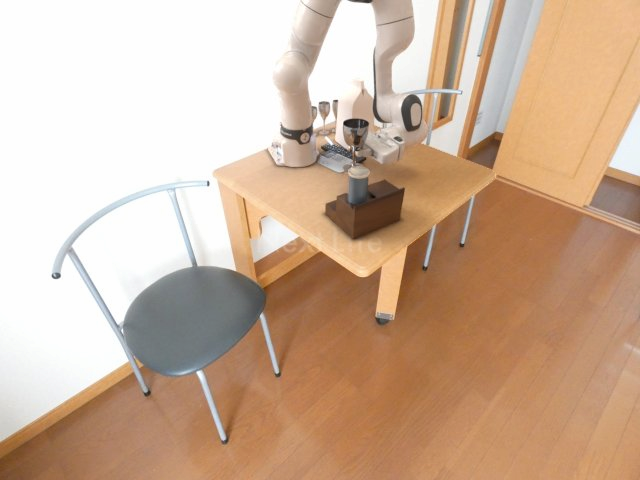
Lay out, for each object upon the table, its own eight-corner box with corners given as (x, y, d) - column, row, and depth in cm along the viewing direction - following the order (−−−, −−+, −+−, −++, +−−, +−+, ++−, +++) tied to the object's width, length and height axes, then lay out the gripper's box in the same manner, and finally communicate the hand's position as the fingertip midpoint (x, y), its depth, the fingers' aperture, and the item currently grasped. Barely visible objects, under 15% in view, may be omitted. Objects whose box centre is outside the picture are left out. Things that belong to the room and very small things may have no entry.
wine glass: (364, 174, 118) (367, 129, 109) (339, 172, 119) (341, 127, 110) (366, 163, 124) (370, 119, 115) (343, 161, 125) (345, 117, 116)
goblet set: (309, 138, 161) (308, 107, 153) (305, 133, 165) (304, 103, 157) (366, 128, 169) (369, 98, 161) (360, 123, 174) (362, 94, 165)
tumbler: (342, 197, 107) (344, 169, 101) (359, 191, 109) (361, 164, 103) (354, 207, 103) (356, 178, 97) (371, 201, 105) (374, 173, 99)
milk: (335, 140, 159) (336, 77, 143) (357, 135, 163) (361, 73, 147) (349, 151, 151) (353, 85, 134) (373, 145, 155) (379, 81, 139)
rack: (325, 213, 118) (325, 182, 110) (370, 197, 125) (373, 166, 117) (352, 239, 108) (355, 206, 100) (400, 219, 115) (405, 188, 108)
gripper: (367, 121, 128) (334, 130, 122) (408, 144, 115) (373, 155, 109) (366, 139, 132) (334, 148, 126) (405, 162, 119) (371, 173, 113)
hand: (352, 151), depth 117 cm, fingers closed on wine glass, 3 cm apart
